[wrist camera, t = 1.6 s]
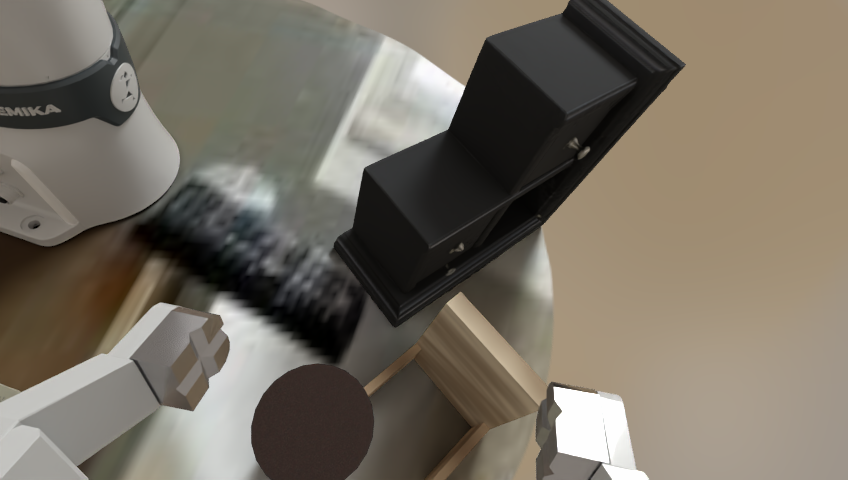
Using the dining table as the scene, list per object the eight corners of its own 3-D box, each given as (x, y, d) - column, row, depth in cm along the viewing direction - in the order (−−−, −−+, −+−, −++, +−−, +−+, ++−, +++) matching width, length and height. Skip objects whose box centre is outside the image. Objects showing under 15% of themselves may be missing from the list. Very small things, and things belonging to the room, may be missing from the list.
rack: (429, 487, 35) (482, 481, 25) (357, 396, 37) (381, 357, 27) (487, 421, 38) (554, 393, 29) (420, 343, 41) (460, 291, 31)
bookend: (394, 331, 41) (484, 174, 21) (330, 245, 44) (359, 40, 24) (544, 226, 52) (691, 63, 33) (486, 164, 55) (589, -19, 36)
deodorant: (310, 397, 36) (318, 341, 23) (361, 449, 35) (397, 420, 22) (250, 456, 33) (223, 427, 20) (304, 516, 32) (310, 524, 19)
